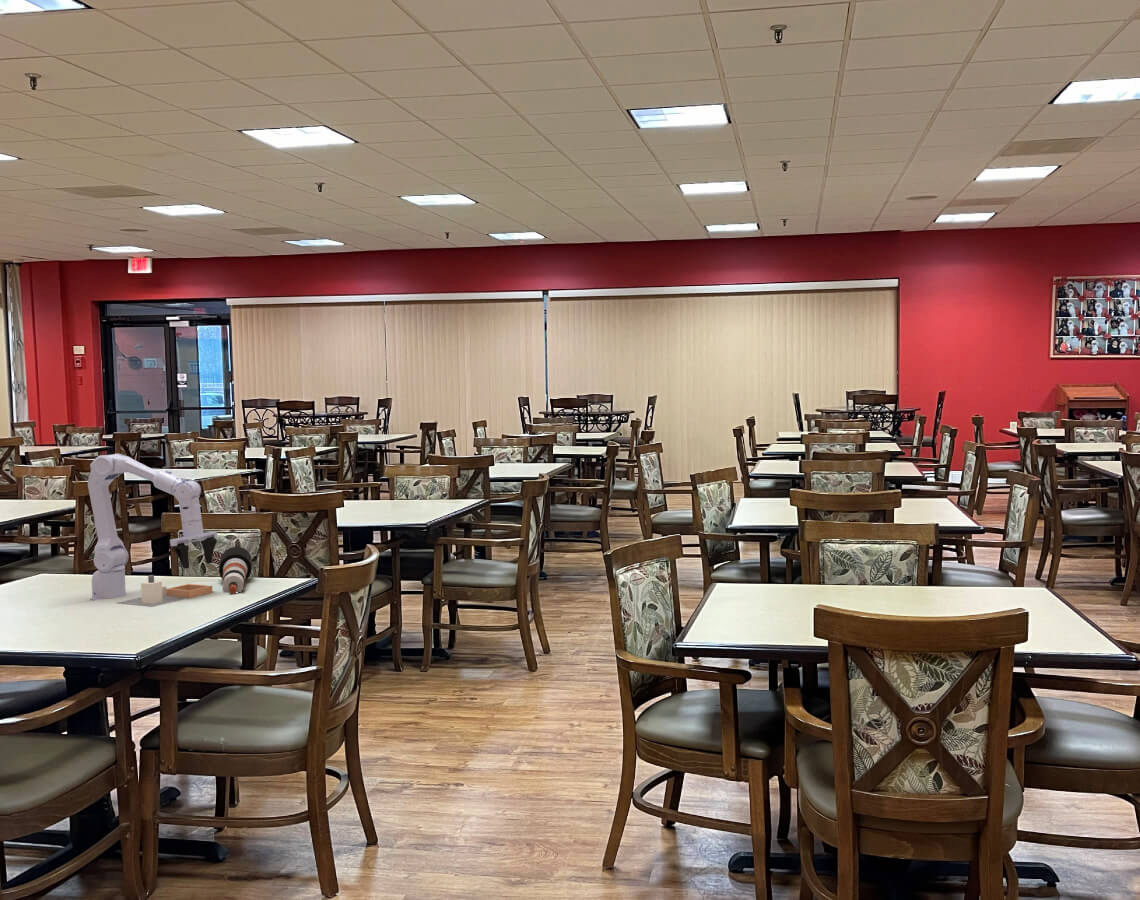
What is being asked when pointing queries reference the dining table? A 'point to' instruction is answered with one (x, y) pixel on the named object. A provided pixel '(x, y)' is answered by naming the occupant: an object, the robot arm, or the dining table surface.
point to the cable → (235, 569)
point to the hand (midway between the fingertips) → (197, 565)
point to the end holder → (189, 590)
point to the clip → (164, 591)
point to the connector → (151, 591)
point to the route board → (165, 600)
